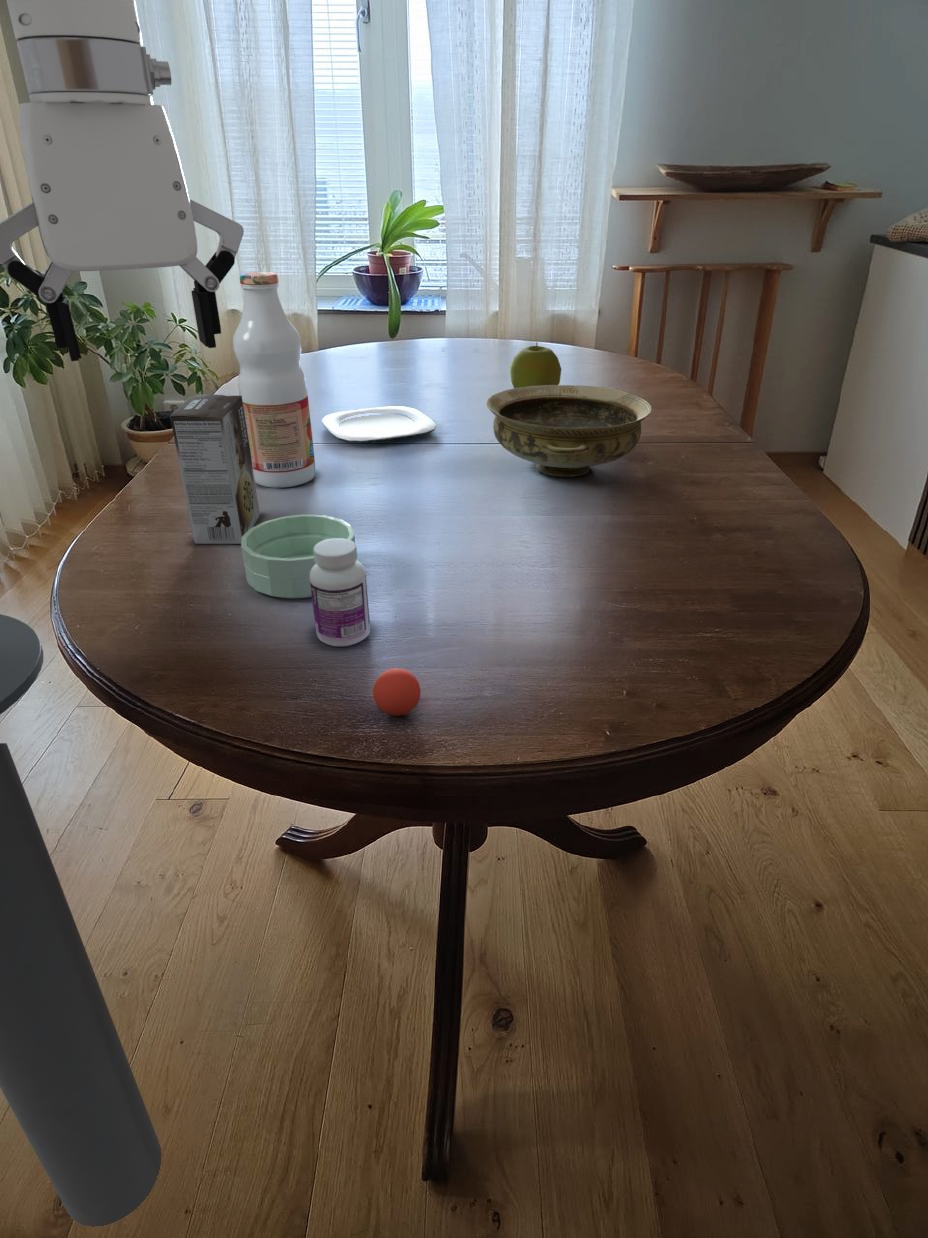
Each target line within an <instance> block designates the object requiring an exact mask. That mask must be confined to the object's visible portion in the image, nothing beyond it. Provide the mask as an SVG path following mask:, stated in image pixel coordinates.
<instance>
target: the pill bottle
mask: <svg viewBox="0 0 928 1238" xmlns="http://www.w3.org/2000/svg"><path fill="white" fill-rule="evenodd" d="M357 549H358V548H357V544H356V542H355V543H354V542H353V541H351V540H348V539H344V538H332V539H327V540H323V541H321V542H319V543H317V544H316V545H315V546H314V561H315V562H316V564H315V565H314V566H313V567H312V569H311V571H310V576H309V577H310V586H311V595H312V597H311V602H312V609H313V618H314V626H315V627H314V628H315V633H316V637H317V638H318V639H319V640H320V641H321V642H322V643H324V644H325V645H328V646H331V647H350V646H353V645H356V644H357V643H360V642H362V641H363V640H365V639H366V638H367V637H368V636H369V634H370V631H371V620H370V609H369V599H368V597H369V596H368V583H367V573H366V568H365V566H364V565H363V564H362V562H360V561H359V560H358V550H357Z"/></svg>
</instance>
